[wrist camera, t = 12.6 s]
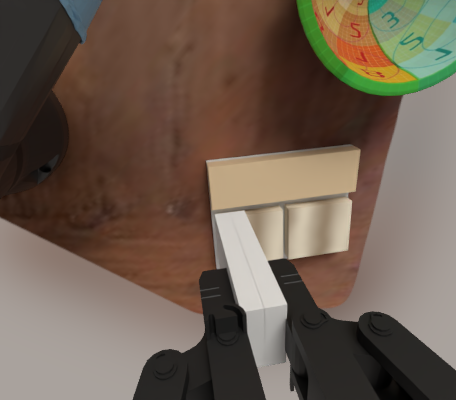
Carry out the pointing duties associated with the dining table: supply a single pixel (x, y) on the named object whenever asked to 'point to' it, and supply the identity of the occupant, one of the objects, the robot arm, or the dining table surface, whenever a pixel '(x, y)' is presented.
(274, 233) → the cream flat block
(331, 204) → the beige square panel
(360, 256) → the dining table surface
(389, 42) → the bowl
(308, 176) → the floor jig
